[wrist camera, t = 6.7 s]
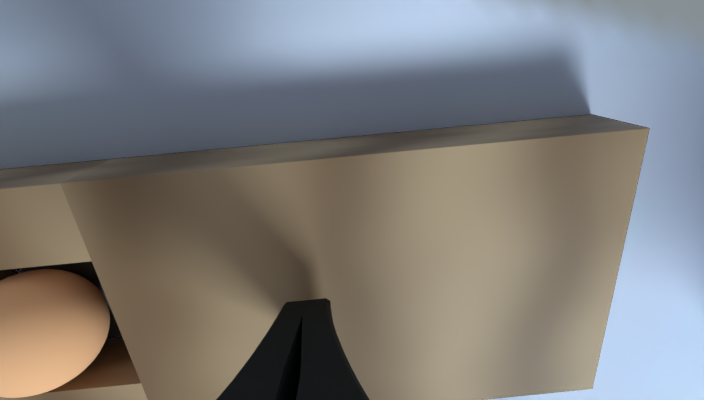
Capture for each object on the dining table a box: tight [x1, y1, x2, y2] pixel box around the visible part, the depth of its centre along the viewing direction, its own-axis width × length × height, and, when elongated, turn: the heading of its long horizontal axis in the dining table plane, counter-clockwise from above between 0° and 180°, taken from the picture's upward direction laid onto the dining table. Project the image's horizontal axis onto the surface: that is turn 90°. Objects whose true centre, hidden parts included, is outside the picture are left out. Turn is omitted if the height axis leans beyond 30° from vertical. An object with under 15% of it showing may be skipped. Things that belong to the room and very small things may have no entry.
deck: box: [0, 114, 650, 400], centre depth 13 cm, size 24×10×2 cm, turn 95°
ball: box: [0, 269, 110, 398], centre depth 12 cm, size 4×4×4 cm
